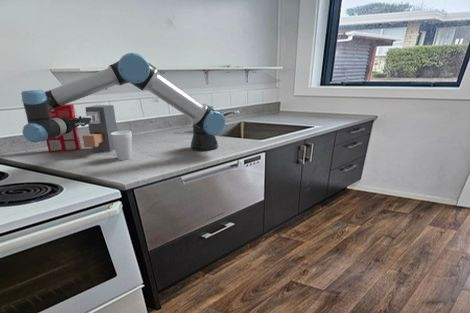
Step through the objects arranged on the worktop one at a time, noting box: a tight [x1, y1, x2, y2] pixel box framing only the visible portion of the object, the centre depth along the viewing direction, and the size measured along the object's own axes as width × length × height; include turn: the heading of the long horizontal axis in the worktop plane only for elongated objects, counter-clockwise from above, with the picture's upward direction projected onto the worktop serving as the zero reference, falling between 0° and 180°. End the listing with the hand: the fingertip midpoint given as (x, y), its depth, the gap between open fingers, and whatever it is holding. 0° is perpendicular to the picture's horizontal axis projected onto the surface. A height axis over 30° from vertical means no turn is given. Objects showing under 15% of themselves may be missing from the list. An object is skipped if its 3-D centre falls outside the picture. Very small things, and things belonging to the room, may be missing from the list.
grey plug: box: [85, 111, 102, 124], centre depth 144 cm, size 13×6×6 cm, turn 175°
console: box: [84, 104, 118, 153], centre depth 147 cm, size 10×10×24 cm
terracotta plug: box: [81, 133, 104, 148], centre depth 141 cm, size 13×6×6 cm, turn 175°
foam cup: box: [110, 130, 133, 161], centre depth 131 cm, size 10×9×13 cm
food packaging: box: [45, 103, 82, 154], centre depth 147 cm, size 15×5×25 cm, turn 106°
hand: (91, 118), depth 137 cm, fingers closed
